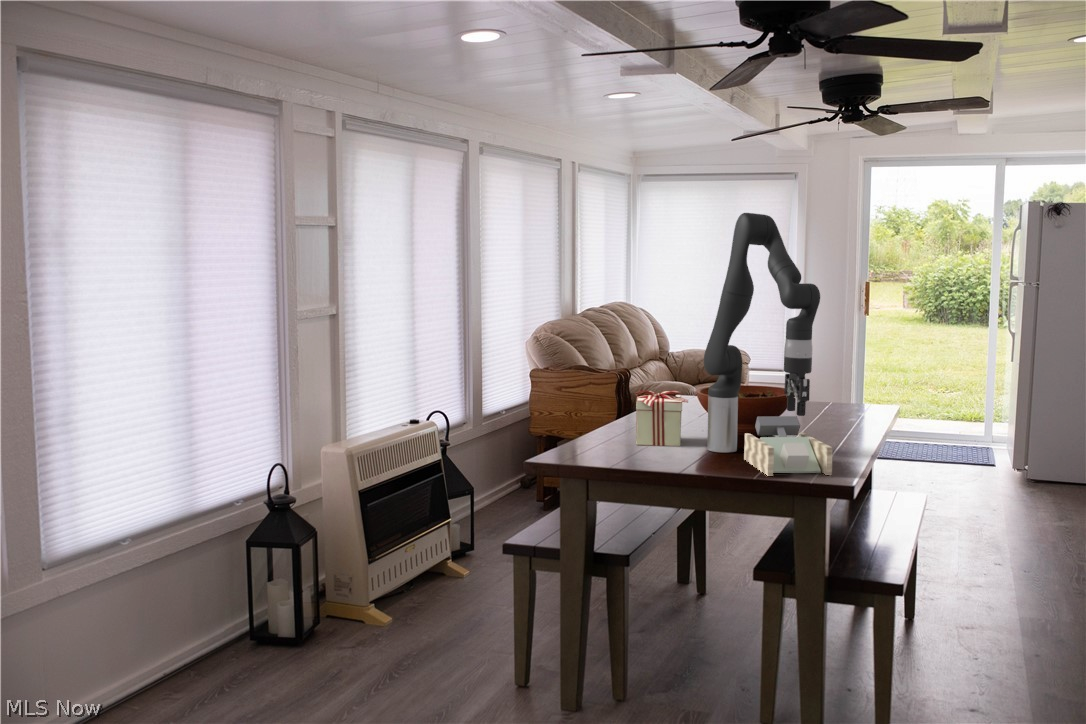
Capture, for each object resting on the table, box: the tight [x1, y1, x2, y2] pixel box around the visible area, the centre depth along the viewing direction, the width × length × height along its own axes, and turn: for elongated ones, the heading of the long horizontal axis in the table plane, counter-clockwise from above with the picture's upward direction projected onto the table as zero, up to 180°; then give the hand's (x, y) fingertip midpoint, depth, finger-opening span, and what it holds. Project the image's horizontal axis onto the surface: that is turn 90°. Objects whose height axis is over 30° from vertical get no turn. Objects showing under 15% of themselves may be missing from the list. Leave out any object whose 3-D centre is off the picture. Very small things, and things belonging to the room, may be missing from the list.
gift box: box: [635, 390, 689, 447], centre depth 312 cm, size 17×18×17 cm
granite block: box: [780, 443, 809, 469], centre depth 266 cm, size 5×6×5 cm
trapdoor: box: [754, 415, 822, 474], centre depth 274 cm, size 22×14×4 cm
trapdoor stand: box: [743, 432, 834, 477], centre depth 273 cm, size 24×18×8 cm
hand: (795, 413), depth 264 cm, fingers open, 8 cm apart
